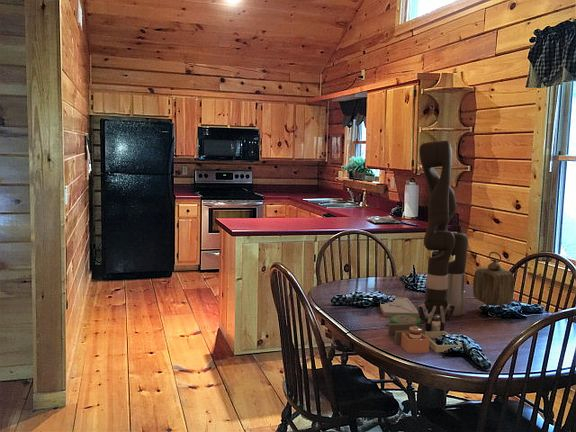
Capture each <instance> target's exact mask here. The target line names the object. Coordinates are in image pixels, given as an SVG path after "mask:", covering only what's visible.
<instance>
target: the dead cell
mask: <svg viewBox="0 0 576 432" xmlns="http://www.w3.org/2000/svg"><path fill="white" fill-rule="evenodd" d="M422 330H423V329H422V327H421V326H420V327H418V326H412V327H409V339H421V336H422Z"/></svg>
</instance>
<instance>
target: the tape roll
mask: <svg viewBox="0 0 576 432" xmlns="http://www.w3.org/2000/svg"><path fill="white" fill-rule="evenodd" d="M393 323H416V324H417V326H418V327H420V328H421V319H420V317H414V316H410V315H396V316H393V317H390V321H389V324H393Z"/></svg>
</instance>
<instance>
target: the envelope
mask: <svg viewBox="0 0 576 432" xmlns="http://www.w3.org/2000/svg"><path fill="white" fill-rule="evenodd" d="M394 297H395V300H394V301H393V302H388V303H385V304H381V303H380V307H379V308H381V309H380V311H381V313H382V316H383V317H390V318H391V317H393V316H396V315H410V316H414V317H417V318H420V316H419V312H418V309H417V307H415V306H414V304H413V303H412V302H411V300H410V299H409V298H408V297H400V296H399V297H397V296H394Z"/></svg>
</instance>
